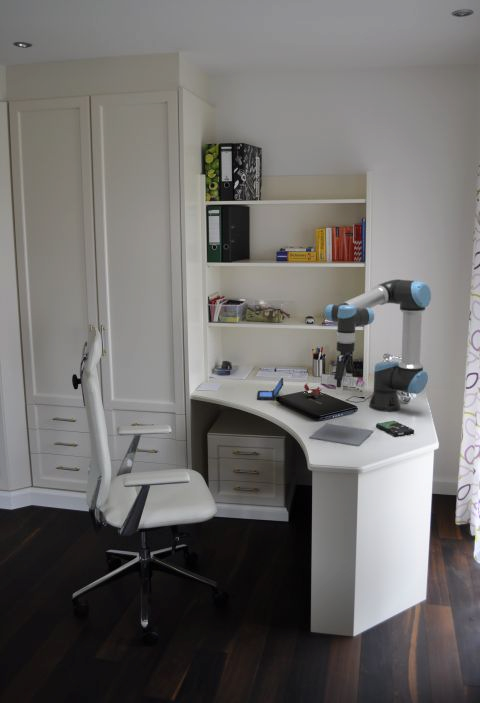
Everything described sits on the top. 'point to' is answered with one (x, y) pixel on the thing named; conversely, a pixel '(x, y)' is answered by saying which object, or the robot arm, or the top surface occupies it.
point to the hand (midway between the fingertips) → (343, 391)
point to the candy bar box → (348, 383)
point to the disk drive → (394, 428)
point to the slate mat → (342, 434)
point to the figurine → (312, 391)
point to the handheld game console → (270, 393)
